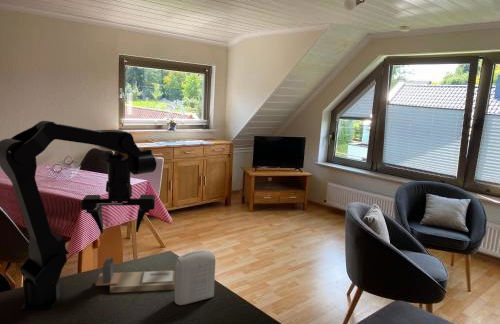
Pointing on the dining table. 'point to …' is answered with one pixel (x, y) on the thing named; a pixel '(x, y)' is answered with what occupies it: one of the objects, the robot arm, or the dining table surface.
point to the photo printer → (194, 277)
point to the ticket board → (144, 281)
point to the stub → (108, 274)
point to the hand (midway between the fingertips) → (119, 232)
